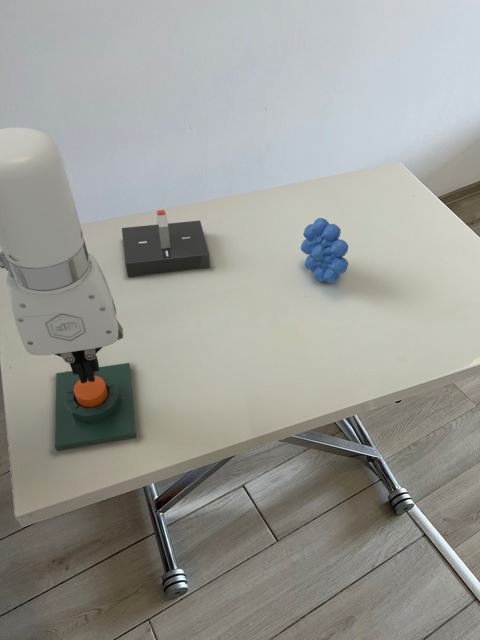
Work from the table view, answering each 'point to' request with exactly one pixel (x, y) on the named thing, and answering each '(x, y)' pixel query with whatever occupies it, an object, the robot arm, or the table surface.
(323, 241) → the grapes
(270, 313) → the table surface
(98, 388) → the button
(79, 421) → the control block
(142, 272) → the lever switch base
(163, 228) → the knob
